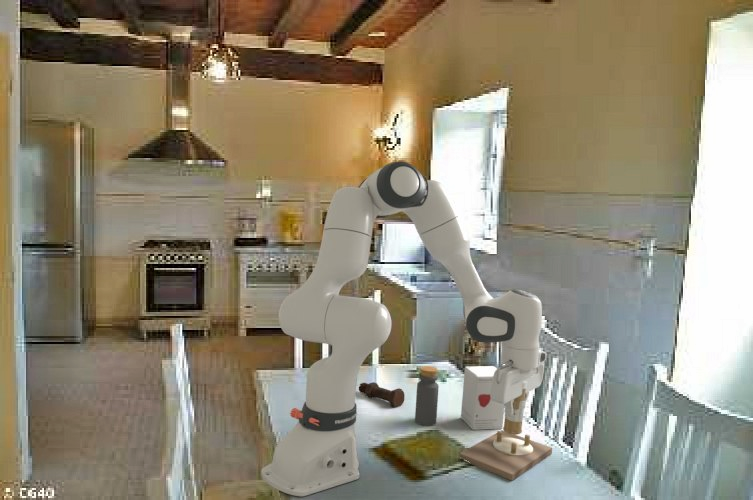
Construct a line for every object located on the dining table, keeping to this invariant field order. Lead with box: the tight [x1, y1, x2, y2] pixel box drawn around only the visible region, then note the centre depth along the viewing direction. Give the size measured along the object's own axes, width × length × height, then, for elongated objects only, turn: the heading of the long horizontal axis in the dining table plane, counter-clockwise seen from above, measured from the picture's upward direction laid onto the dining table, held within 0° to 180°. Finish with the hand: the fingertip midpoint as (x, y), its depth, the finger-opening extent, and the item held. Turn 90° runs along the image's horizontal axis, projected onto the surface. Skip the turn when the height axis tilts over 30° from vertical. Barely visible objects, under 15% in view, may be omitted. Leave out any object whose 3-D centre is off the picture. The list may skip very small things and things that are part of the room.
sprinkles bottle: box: [502, 380, 527, 435], centre depth 143 cm, size 5×5×13 cm
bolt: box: [358, 382, 405, 409], centre depth 175 cm, size 6×5×15 cm
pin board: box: [458, 429, 553, 481], centre depth 142 cm, size 20×14×4 cm
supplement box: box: [460, 365, 505, 431], centre depth 161 cm, size 9×9×15 cm
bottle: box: [414, 365, 440, 427], centre depth 160 cm, size 6×6×15 cm
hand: (515, 411), depth 143 cm, fingers closed on sprinkles bottle, 4 cm apart
